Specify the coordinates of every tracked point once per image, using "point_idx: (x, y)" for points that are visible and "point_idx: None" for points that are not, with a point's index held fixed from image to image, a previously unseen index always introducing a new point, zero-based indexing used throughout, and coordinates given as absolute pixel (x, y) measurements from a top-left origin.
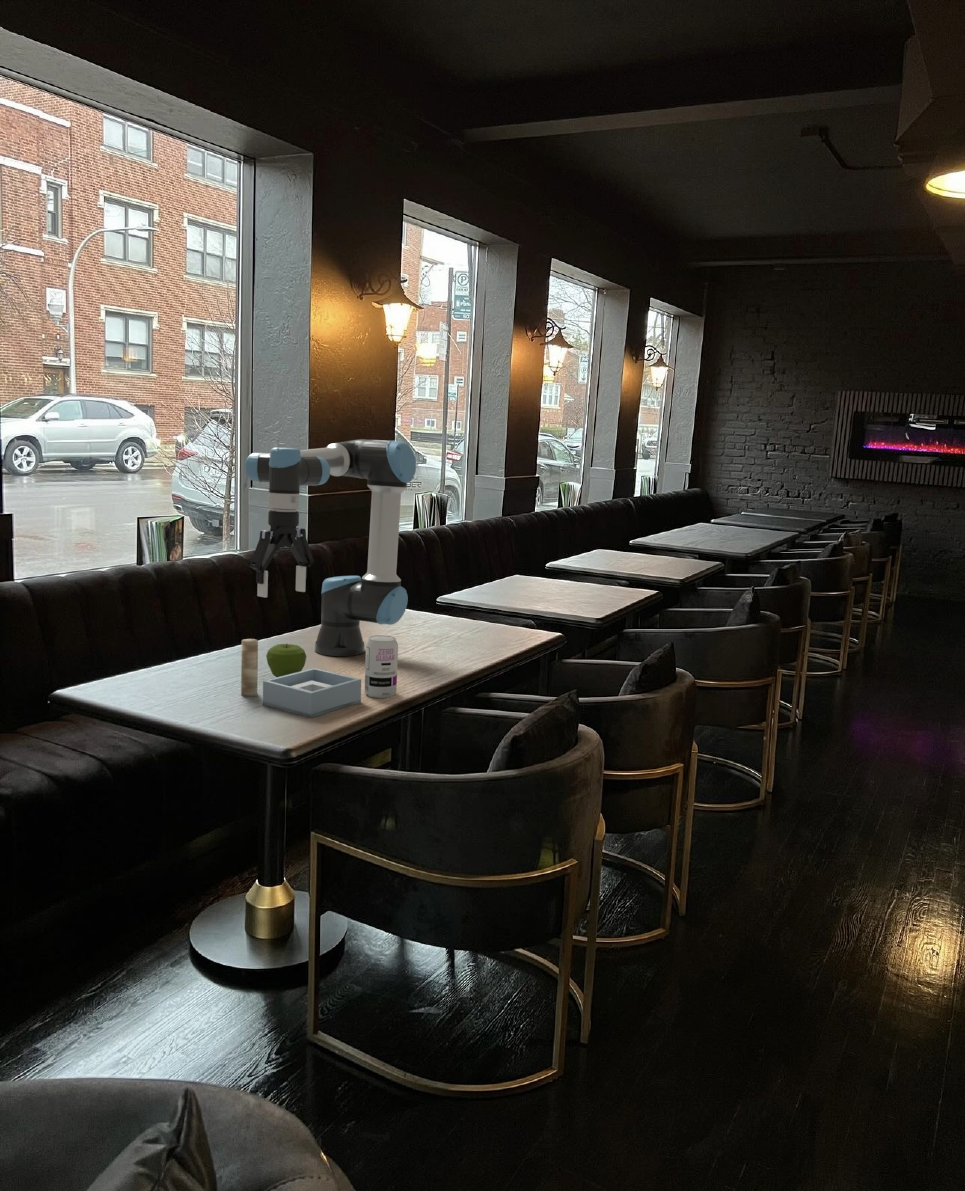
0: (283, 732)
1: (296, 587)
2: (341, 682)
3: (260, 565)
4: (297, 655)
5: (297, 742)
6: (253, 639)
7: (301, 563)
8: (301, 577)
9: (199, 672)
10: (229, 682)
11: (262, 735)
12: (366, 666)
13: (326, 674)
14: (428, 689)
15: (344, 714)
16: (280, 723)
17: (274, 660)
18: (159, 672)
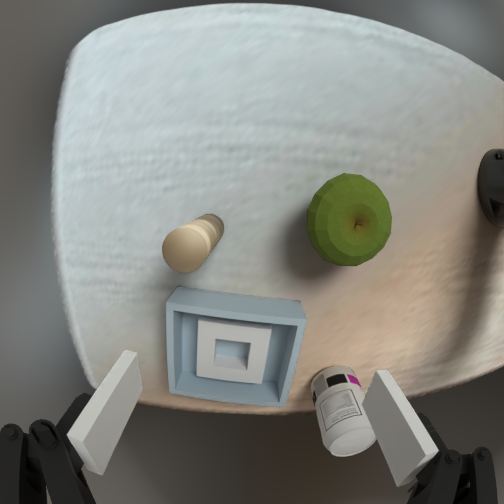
0: None
1: (380, 383)
2: (284, 373)
3: (43, 476)
4: (339, 263)
5: None
6: (201, 249)
7: (431, 475)
8: (386, 439)
9: (274, 59)
10: (253, 142)
11: (97, 355)
12: (325, 402)
13: (291, 349)
14: None
15: None
16: None
17: (307, 220)
18: (230, 19)
